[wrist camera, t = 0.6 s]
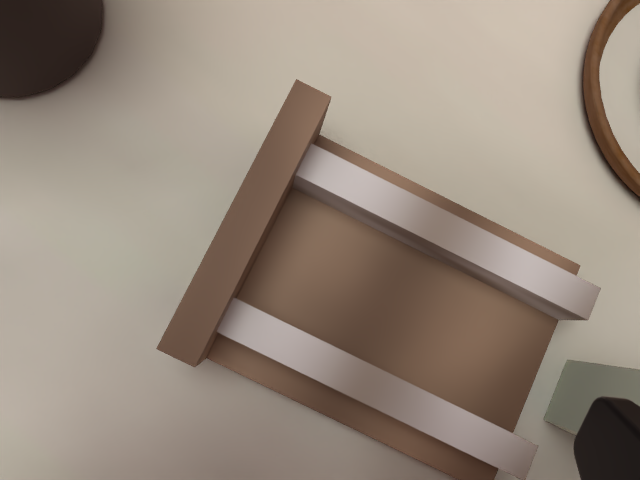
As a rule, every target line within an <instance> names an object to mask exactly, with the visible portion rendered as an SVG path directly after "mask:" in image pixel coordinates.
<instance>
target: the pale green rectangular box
mask: <svg viewBox="0 0 640 480" xmlns="http://www.w3.org/2000/svg"><path fill="white" fill-rule="evenodd" d="M601 396H609V397H618V398H626V399H629V400H631V401H633V402H634V403H635V404H637V405H638V406H640V370H638V369H630V368H623V367H616V366H609V365H602V364H594V363H587V362H580V361H573V360H567V362H566V364H565V367H564V369H563V372H562V374H561V377H560V379H559V382H558V384H557V387H556V389H555V392H554V394H553V397H552V399H551V402H550V405H549V407H548V410H547V412H546V415H545V417H544V420H545V421H547V422H549V423H551V424H553V425H555V426H557V427H559V428H561V429H563V430H565V431H567V432H569V433H571V434H574V435H577V433H578V431H579V429H580V426H581V424H582V422H583V420H584V418H585V416H586V414H587V412H588V410H589V408H590V406H591V404H592V402H593V401H594V400H595V399H596V398H598V397H601Z"/></svg>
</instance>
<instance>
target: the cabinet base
mask: <svg viewBox="0 0 640 480" xmlns="http://www.w3.org/2000/svg"><path fill="white" fill-rule="evenodd" d="M330 100H331V96H329V95H327V94H325V93H323V92H321V91H319V90H317V89H315V88H313V87H311V86H309V85H307V84H305V83H303V82H301V81H299V80H297V79H296V81H295V83H294V85H293V87H292V89H291V91H290V93H289V94H288V96H287V98H286V100H285V102H284V104H283V106H282V108H281V110H280V112H279V114H278V116H277V118H276V119H275V121H274V123H273V125H272V127H271V129H270V131H269V133H268V135H267V137H266V139H265V141H264V143H263V144H262V146H261V148H260V150H259V152H258V154H257V156H256V158H255V160H254V162H253V164H252V166H251V168H250V169H249V171H248V173H247V175H246V177H245V179H244V181H243V183H242V185H241V187H240V189H239V191H238V193H237V195H236V196H235V198H234V200H233V202H232V204H231V206H230V208H229V210H228V212H227V214H226V216H225V218H224V220H223V221H222V223H221V225H220V227H219V229H218V231H217V233H216V235H215V237H214V239H213V241H212V243H211V245H210V246H209V248H208V250H207V252H206V254H205V256H204V258H203V260H202V262H201V264H200V266H199V268H198V270H197V272H196V273H195V275H194V277H193V279H192V281H191V283H190V285H189V287H188V289H187V291H186V293H185V295H184V297H183V298H182V300H181V302H180V304H179V306H178V308H177V310H176V312H175V314H174V316H173V318H172V320H171V322H170V323H169V325H168V327H167V329H166V331H165V333H164V335H163V337H162V339H161V341H160V343H159V345H158V347H157V349H158V350H160V351H162V352H164V353H166V354H168V355H170V356H172V357H174V358H176V359H178V360H181V361H183V362H185V363H187V364H189V365H191V366H193V367H196V366H197V365H198V364H200V363H201V362H202V361H203V360H205V359H206V358H208V359H210V360H212V361H214V362H216V363H218V364H220V365H222V366H224V367H226V368H228V369H230V370H233V371H235V372H237V373H239V374H241V375H243V376H245V377H247V378H249V379H251V380H253V381H255V382H257V383H259V384H262V385H264V386H266V387H268V388H270V389H272V390H274V391H276V392H278V393H280V394H282V395H284V396H286V397H288V398H291V399H293V400H295V401H297V402H299V403H301V404H303V405H305V406H307V407H309V408H311V409H313V410H315V411H317V412H320V413H322V414H324V415H326V416H328V417H330V418H332V419H334V420H336V421H338V422H340V423H342V424H344V425H347V426H349V427H351V428H353V429H355V430H357V431H359V432H361V433H363V434H365V435H367V436H369V437H371V438H373V439H376V440H378V441H380V442H382V443H384V444H386V445H388V446H390V447H392V448H394V449H396V450H398V451H400V452H402V453H405V454H407V455H409V456H411V457H413V458H415V459H417V460H419V461H421V462H423V463H425V464H427V465H429V466H431V467H434V468H436V469H438V470H440V471H442V472H444V473H446V474H448V475H450V476H452V477H454V478H456V479H458V480H494V478H495V476H496V473H497V471H498V468H499V469H501V470H503V471H505V472H507V473H509V474H511V475H513V476H515V477H517V478H519V479H521V480H525V479H526V476H527V474H528V471H529V469H530V466H531V464H532V461H533V459H534V456H535V454H536V451H537V448H538V445H535V444H533V443H531V442H529V441H527V440H525V439H523V438H521V437H519V436H517V435H515V434H513V431H514V429H515V426H516V424H517V421H518V419H519V416H520V414H521V411H522V409H523V406H524V404H525V402H526V399H527V397H528V394H529V392H530V389H531V387H532V384H533V382H534V379H535V377H536V374H537V372H538V369H539V367H540V364H541V362H542V359H543V357H544V355H545V352H546V350H547V347H548V345H549V342H550V340H551V337H552V335H553V332H554V330H555V327H556V325H557V322H558V320H589V317H590V314H591V312H592V309H593V307H594V304H595V302H596V299H597V297H598V294H599V292H600V289H601V288H600V287H598V286H596V285H594V284H592V283H590V282H588V281H586V280H584V279H582V278H580V277H578V276H576V275H577V273H578V270H579V268H580V265H578V264H576V263H574V262H572V261H570V260H568V259H566V258H564V257H562V256H560V255H558V254H556V253H554V252H552V251H550V250H548V249H546V248H544V247H542V246H540V245H538V244H536V243H534V242H532V241H530V240H528V239H526V238H524V237H522V236H520V235H518V234H516V233H514V232H513V231H511V230H509V229H507V228H505V227H503V226H501V225H499V224H497V223H495V222H493V221H491V220H489V219H487V218H485V217H483V216H481V215H479V214H477V213H475V212H473V211H471V210H469V209H467V208H465V207H463V206H461V205H459V204H457V203H455V202H453V201H451V200H449V199H447V198H445V197H443V196H441V195H439V194H437V193H435V192H433V191H431V190H429V189H427V188H425V187H423V186H421V185H419V184H417V183H415V182H413V181H411V180H409V179H407V178H405V177H403V176H401V175H399V174H397V173H395V172H393V171H391V170H389V169H387V168H385V167H383V166H381V165H379V164H377V163H375V162H373V161H371V160H369V159H367V158H365V157H363V156H361V155H359V154H357V153H355V152H353V151H351V150H349V149H347V148H345V147H343V146H341V145H339V144H337V143H335V142H333V141H331V140H329V139H327V138H325V137H323V136H321V135H319V133H320V130H321V127H322V124H323V121H324V118H325V115H326V112H327V109H328V106H329V103H330Z"/></svg>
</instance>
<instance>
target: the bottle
mask: <svg viewBox="0 0 640 480" xmlns="http://www.w3.org/2000/svg"><path fill="white" fill-rule="evenodd" d="M101 20H102V0H0V96H9V97H22V96H26V95H30V94H34V93H38V92H41V91H45V90H49V89H51V88H52V87H54V86H56V85H57V84H59V83H60V82H62V81H64V80H65V79H67V78H69V77H70V76H72V75H73V74H74V73H75V72H76V71H77V70H78V69H79V67H80V66H81V65H82V64H83V63H84V62H85V61H86V59H87V58H88V57H89V56H90V55H91V53H92V51H93V48H94V46H95V43H96V41H97V39H98V36H99V34H100V31H101Z"/></svg>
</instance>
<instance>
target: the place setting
mask: <svg viewBox="0 0 640 480" xmlns="http://www.w3.org/2000/svg"><path fill="white" fill-rule="evenodd" d="M639 3H640V0H610V2H609V3H608V5H607V6H606V8H605V9H604V11H603V12H602V14H601V16H600V17H599V19H598V21H597V23H596V26H595V28H594V30H593V32H592V35H591V38H590V41H589V45H588V48H587V51H586V57H585V64H584V77H583V89H584V98H585V106H586V110H587V114H588V118H589V122H590V126H591V128H592V131H593V133H594V136H595V139H596V141H597V143H598V145H599V147H600V149H601V151H602V153H603V155H604V156H605V158H606V159H607V161H608V162H609V164H610V165H611V167H612V168H613V170H614V171H615V172H616V174H617V175H618V176H619V177H620V178H621V179H622V180H623V182H624V183H625V184H626V185H627V186H628V187H629V188H630V189H631V190H632V191H633V192H634V193H636V194H637V195H638V196H639V197H640V173H639V172H638V171H637V170H636V169H635V168H634V167H633V165H632V164H631V163H630V161H629V160H628V158H627V157H626V155H625V154H624V152H623V151H622V150H621V148H620V146H619V144H618V142H617V140H616V138H615V136H614V135H613V133H612V130H611V127H610V125H609V122H608V120H607V117H606V114H605V110H604V106H603V102H602V98H601V90H600V82H599V66H600V61H601V57H602V54H603V50H604V48H605V45H606V43H607V41H608V39H609V36H610V35H611V33H612V32H613V30H614V28H615V27H616V25H617V24H618V23H619V22H620V21H621V19H622V18H623V17H624V16H625V15H626V14H627V13H628V12H629V11H630V10H632V9H633V8H634V7H635V6H636V5H638V4H639Z"/></svg>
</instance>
